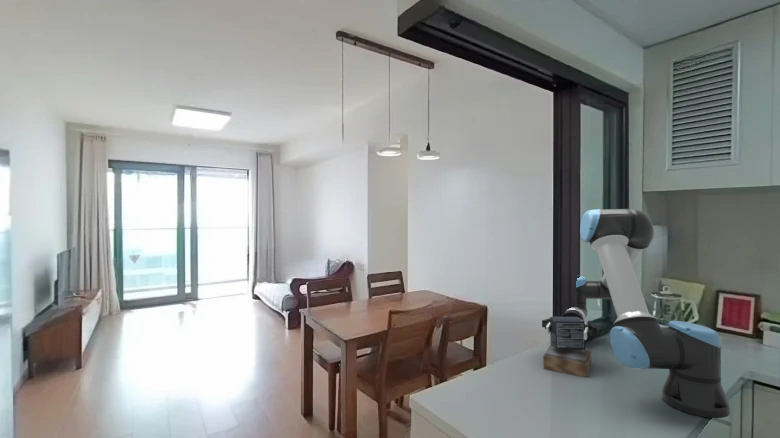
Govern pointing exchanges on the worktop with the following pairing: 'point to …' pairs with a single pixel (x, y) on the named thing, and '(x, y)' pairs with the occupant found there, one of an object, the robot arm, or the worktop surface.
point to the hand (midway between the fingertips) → (565, 333)
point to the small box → (567, 333)
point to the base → (568, 361)
